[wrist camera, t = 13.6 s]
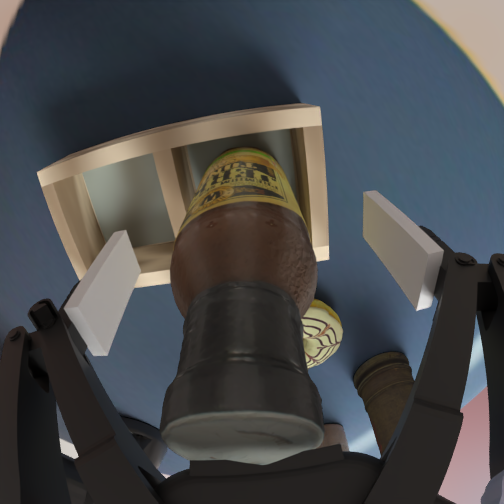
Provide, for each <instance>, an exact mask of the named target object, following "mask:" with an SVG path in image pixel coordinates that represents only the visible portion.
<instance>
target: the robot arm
mask: <svg viewBox="0 0 504 504" xmlns="http://www.w3.org/2000/svg"><path fill="white" fill-rule="evenodd" d="M363 237H364V239H365V240H366V241H367V243H368V244H369V245H370V247H371V248H372V249H373V250H374V252H375V253H376V254H377V256H378V257H379V258H380V260H381V261H382V263H383V264H384V265H385V267H386V268H387V269H388V271H389V272H390V273H391V275H392V276H393V278H394V279H395V280H396V282H397V283H398V285H399V286H400V288H401V289H402V290H403V292H404V293H405V295H406V296H407V298H408V299H409V301H410V302H411V304H412V305H413V306H414V308H415V309H416V311H417V310H421V309H424V308H428V307H431V304H432V300H433V297H434V296H435V297H436V298H437V300H438V304H437V308H436V311H435V315H434V318H433V324H432V328H431V331H430V335H429V339H428V342H427V345H426V349H425V352H424V355H423V358H422V361H421V364H420V367H419V370H418V373H417V376H416V379H415V382H414V384H413V387H412V390H411V393H410V395H409V398H408V400H407V403H406V405H405V408H404V410H403V412H402V415H401V417H400V419H399V422H398V424H397V426H396V428H395V431H394V433H393V435H392V437H391V439H390V441H389V443H388V445H387V447H386V449H385V450H384V452H383V454H382V456H381V458H380V459H378V458H376V457H373V456H370V455H367V454H363V453H358V452H350V451H342V448H341V444H336V445H331V446H326V447H322V448H316V449H311V450H306V451H302V452H300V453H297V454H295V455H292V456H289V457H287V458H284V459H281V460H279V461H276V462H273V463H270V464H267V465H259V464H251V463H244V462H237V461H231V460H190V469H186V470H183V471H181V472H178V473H176V474H174V475H171V476H170V477H168V478H167V479H166V478H165V477H164V476H163V475H162V474H161V473H160V472H159V471H158V470H157V469H158V467H159V465H160V464H161V462H162V460H163V458H164V456H165V454H166V452H167V447H168V446H167V445H166V444H165V443H164V441H163V439H162V437H161V435H160V431H159V430H158V429H156V428H154V427H152V426H150V425H147V424H145V423H142V422H140V421H136V420H133V419H129V418H125V417H120V415H119V413H118V412H117V410H116V408H115V407H114V405H113V403H112V402H111V400H110V398H109V397H108V395H107V393H106V391H105V389H104V388H103V386H102V384H101V382H100V380H99V378H98V377H97V375H96V373H95V371H94V369H93V367H92V365H91V363H90V361H89V359H88V357H87V356H86V355H85V351H86V349H87V347H88V348H89V350H90V351H91V353H92V354H93V356H107V355H108V353H109V350H110V347H111V344H112V342H113V339H114V336H115V334H116V331H117V328H118V326H119V323H120V321H121V318H122V315H123V313H124V310H125V308H126V306H127V303H128V301H129V298H130V296H131V293H132V291H133V289H134V286H135V284H136V282H137V279H138V277H139V275H140V272H141V269H140V267H139V264H138V262H137V259H136V256H135V254H134V251H133V248H132V245H131V243H130V240H129V237H128V234H127V231H126V230H122V231H118V232H114V233H113V235H112V236H111V237H110V239H109V240H108V242H107V243H106V244H105V246H104V247H103V249H102V250H101V252H100V253H99V254H98V256H97V257H96V259H95V260H94V262H93V263H92V265H91V266H90V268H89V269H88V271H87V272H86V274H85V275H84V277H83V278H82V279H81V280H80V281H79V282H78V283H77V284H76V285H74V287H73V288H72V290H71V291H70V294H69V295H68V296H67V299H65V301H64V303H63V304H62V306H61V308H60V309H59V311H57V309H56V307H55V306H54V304H53V302H52V301H51V299H43V300H40V301H38V302H37V303H36V304H34V305H33V306H32V307H31V308H30V310H29V312H28V317H29V319H30V320H31V322H32V323H33V325H34V326H35V328H36V329H37V331H35V332H32V333H28V332H27V331H26V329H25V328H24V327H23V326H19V327H16V328H13V329H12V330H11V331H10V332H9V333H8V335H7V336H6V338H5V341H4V346H3V351H2V356H1V361H0V504H455V503H454V502H452V501H450V500H448V499H446V498H444V497H442V496H440V495H439V494H438V492H439V489H440V487H441V485H442V482H443V480H444V477H445V475H446V472H447V469H448V467H449V464H450V461H451V458H452V455H453V452H454V449H455V446H456V443H457V439H458V436H459V433H460V430H461V426H462V422H463V413H461V412H460V408H461V403H462V399H463V395H464V390H465V386H466V381H467V376H468V370H469V364H470V358H471V352H472V345H473V337H474V328H475V318H476V315H477V320H478V325H479V330H480V335H481V341H482V347H483V353H484V360H485V368H486V376H487V387H488V399H489V417H490V418H489V421H490V447H489V450H490V451H489V456H490V458H489V459H490V462H489V463H490V464H489V465H490V478H491V480H490V481H489V483H488V485H487V486H486V489H485V492H484V494H483V496H482V497H481V504H504V254H500V253H496V254H493V255H492V256H491V258H490V262H489V264H477V261H476V260H475V259H474V258H473V257H472V256H470V255H468V254H465V253H460V252H458V253H455V252H454V251H453V250H452V249H451V248H449V247H448V246H447V245H446V244H445V243H444V242H443V241H441V239H440V238H439V237H438V236H437V237H436V235H435V234H434V233H433V232H432V231H431V230H429V229H427V228H425V227H423V226H417V225H416V224H415V223H414V222H413V221H412V220H410V219H409V218H408V217H407V216H406V215H405V214H404V213H402V212H401V211H400V210H399V209H398V208H397V207H395V206H394V205H393V204H392V203H391V202H389V201H388V200H387V199H386V198H385V197H383V196H382V195H381V194H380V193H378V192H377V191H366V192H364V202H363ZM56 401H57V403H58V406H59V409H60V412H61V415H62V417H63V420H64V422H65V425H66V427H67V430H68V432H69V435H70V437H71V439H72V442H73V444H74V446H75V449H76V451H77V453H78V456H79V457H78V458H76V459H73V458H71V457H69V456H67V455H65V454H63V453H61V448H60V441H59V432H58V423H57V412H56Z"/></svg>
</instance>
